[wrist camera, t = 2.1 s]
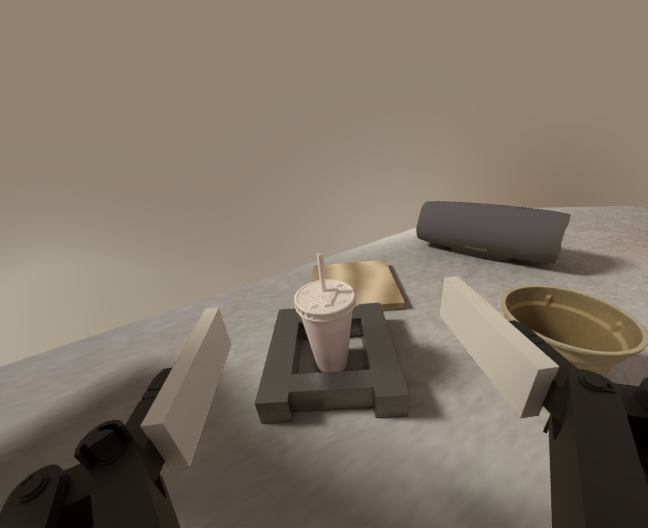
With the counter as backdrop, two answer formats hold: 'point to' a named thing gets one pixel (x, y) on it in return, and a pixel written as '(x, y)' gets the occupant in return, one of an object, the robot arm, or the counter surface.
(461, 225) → the bluetooth speaker
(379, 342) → the dark grey flat frame
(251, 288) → the counter surface
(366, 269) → the birch board
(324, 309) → the smoothie
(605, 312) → the flower pot
